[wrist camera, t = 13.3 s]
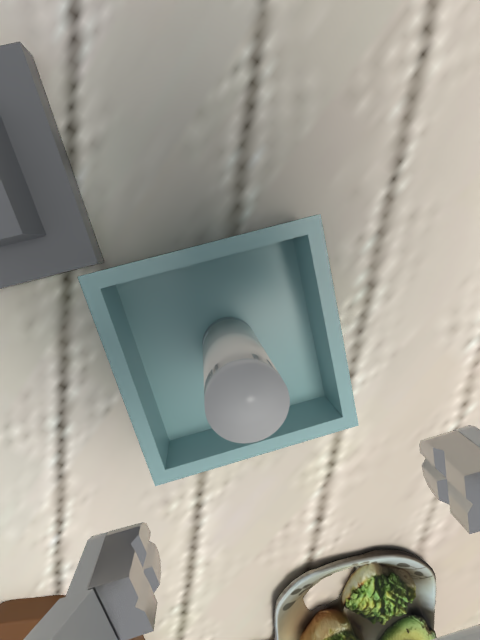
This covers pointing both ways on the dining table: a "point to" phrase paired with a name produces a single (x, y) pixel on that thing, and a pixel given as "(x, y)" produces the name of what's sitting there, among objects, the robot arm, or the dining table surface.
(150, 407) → the parts tray
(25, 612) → the plant
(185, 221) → the dining table surface
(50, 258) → the grey square socket
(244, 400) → the cylinder
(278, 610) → the salad plate
